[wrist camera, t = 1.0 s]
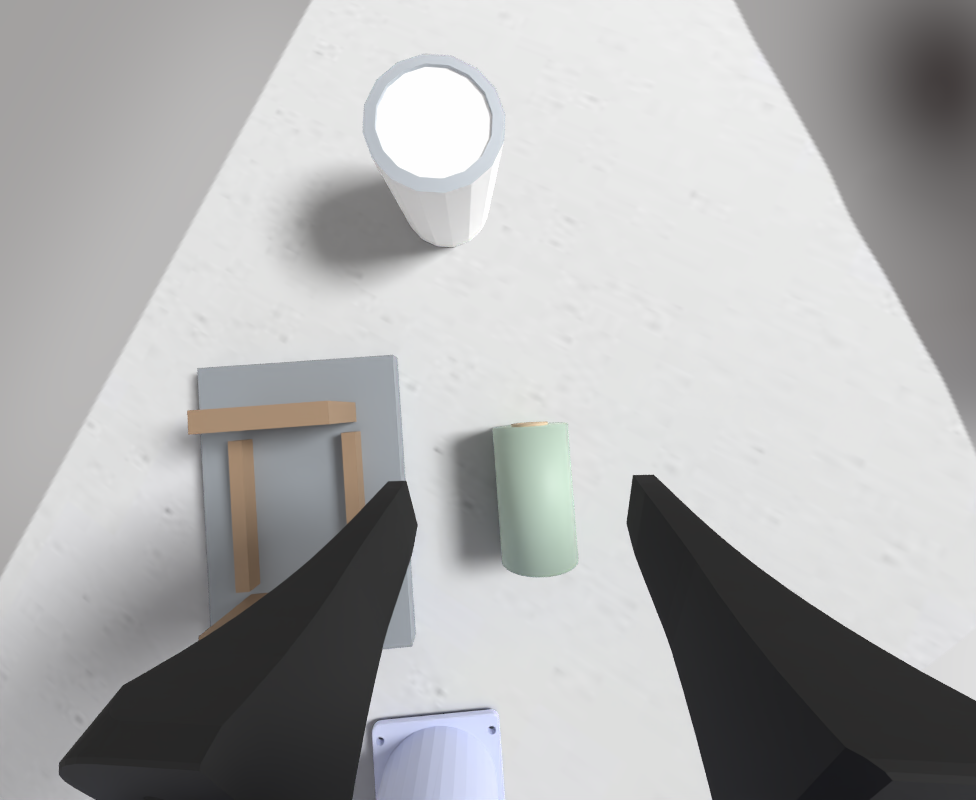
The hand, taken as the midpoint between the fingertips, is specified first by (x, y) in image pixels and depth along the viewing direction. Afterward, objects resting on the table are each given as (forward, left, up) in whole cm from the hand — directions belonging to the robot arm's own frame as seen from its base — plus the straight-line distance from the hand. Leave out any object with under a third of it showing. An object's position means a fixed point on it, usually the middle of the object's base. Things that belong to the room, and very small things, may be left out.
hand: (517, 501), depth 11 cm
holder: (-2, +12, -12) cm, 17 cm away
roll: (-2, -2, -12) cm, 12 cm away
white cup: (+17, +2, -12) cm, 21 cm away
